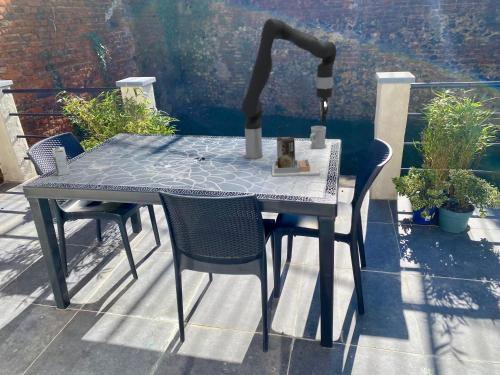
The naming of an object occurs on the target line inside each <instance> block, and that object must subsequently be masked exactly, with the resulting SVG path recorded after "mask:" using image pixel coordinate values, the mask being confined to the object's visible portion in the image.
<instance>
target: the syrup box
mask: <svg viewBox="0 0 500 375" xmlns="http://www.w3.org/2000/svg"><path fill="white" fill-rule="evenodd" d="M51 152H52V157H53V162H54V165H55V170H56V173H57V176H58V177H59V176H65V175H70V168H69V164H68V159H67V155H66V150H65V146H59V147H53V148H52V150H51Z"/></svg>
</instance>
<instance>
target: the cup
mask: <svg viewBox="0 0 500 375" xmlns="http://www.w3.org/2000/svg"><path fill="white" fill-rule="evenodd" d="M310 130H311V134H309V140H310V142H311V144H310V147H311V148H312V149H314V150H322V149H326V132H327V127H326V126H323V125H314V126H310Z"/></svg>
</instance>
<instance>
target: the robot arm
mask: <svg viewBox="0 0 500 375" xmlns="http://www.w3.org/2000/svg"><path fill="white" fill-rule="evenodd" d="M275 40H283V41H288V42H290V43H292V44H293V45H295V46H296V47H297V48H300V49H302V50H304V51H306V52H309V53H310V54H311V55H312V56H313V57H315V58H317V59H321V62H320V64H318V65H317V69H316V70H317V71H316V72H317V73H316V75H317V76H316V86H315V87H316V89H315V92H316V93H315V95H316V98H320V100H319V110H320V123H321V124H326V123H327V115H328V111H329V104H330V103H329V100H328V98H331V97H333V84H334V82H333V69H334V68H333V67H334V64H335V60H336V56H337V47H336V44H335V43H334V42H333V41H325V42H323V41H319V39H318V38H317V37H316V36H313V35H311V34H309V33H305V32H303V31H300V30H298V29H295V28H294V27H293V26H290V25H289V24H287V22H285V21H283V20H281V19H276V18H268V19H267V20H265V22H264V24H263V27H262V31H261V38H260V43H259V47H258V51H257V55H256V58H255V62H254V66H253V69H252V72H251V73H252V74H251V77H250V81H249V85H248V88H247V90H246V91H247V92H246V93H245V97H244V99H243V102H242V105H241V113H242V114H243V116H245V117H246V119H245V122H244V137H245V139H244V140H245V158H246V159H251V160H256V159H257V160H258V159H261V158H262V157H263V140H262V138H263V137H262V122H263V107H262V106H263V105H262V102H261V100H260V97H261V94H262V92H263V91H264V88H265V86H266V85H267V83H268V81H269V78H270V76H271V73H272V70H273V59H272V58H273V57H272V47H273V45H274V44H273V43H274V42H275Z"/></svg>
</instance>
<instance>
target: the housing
mask: <svg viewBox="0 0 500 375" xmlns="http://www.w3.org/2000/svg"><path fill="white" fill-rule="evenodd" d="M271 165H272V166H271V168H272V169H271V170H272V172H271V173H272V177H274V178H275V177H304V176H305V177H306V176H320V175H321V173H320V169H319V166H318V164H317V162H309V165H310V171H303V172H300V168H299V160H298V159H295V168H278V161H277V160H274V161H273V164H271Z"/></svg>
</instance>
